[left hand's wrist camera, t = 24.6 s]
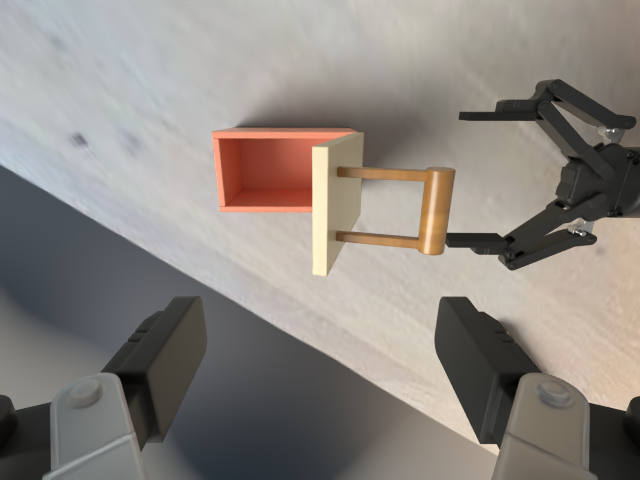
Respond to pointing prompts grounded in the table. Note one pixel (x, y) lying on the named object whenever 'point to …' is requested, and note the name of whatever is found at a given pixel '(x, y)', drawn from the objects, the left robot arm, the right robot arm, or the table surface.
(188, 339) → the left robot arm
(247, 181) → the chest
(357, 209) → the lid
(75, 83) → the table surface
